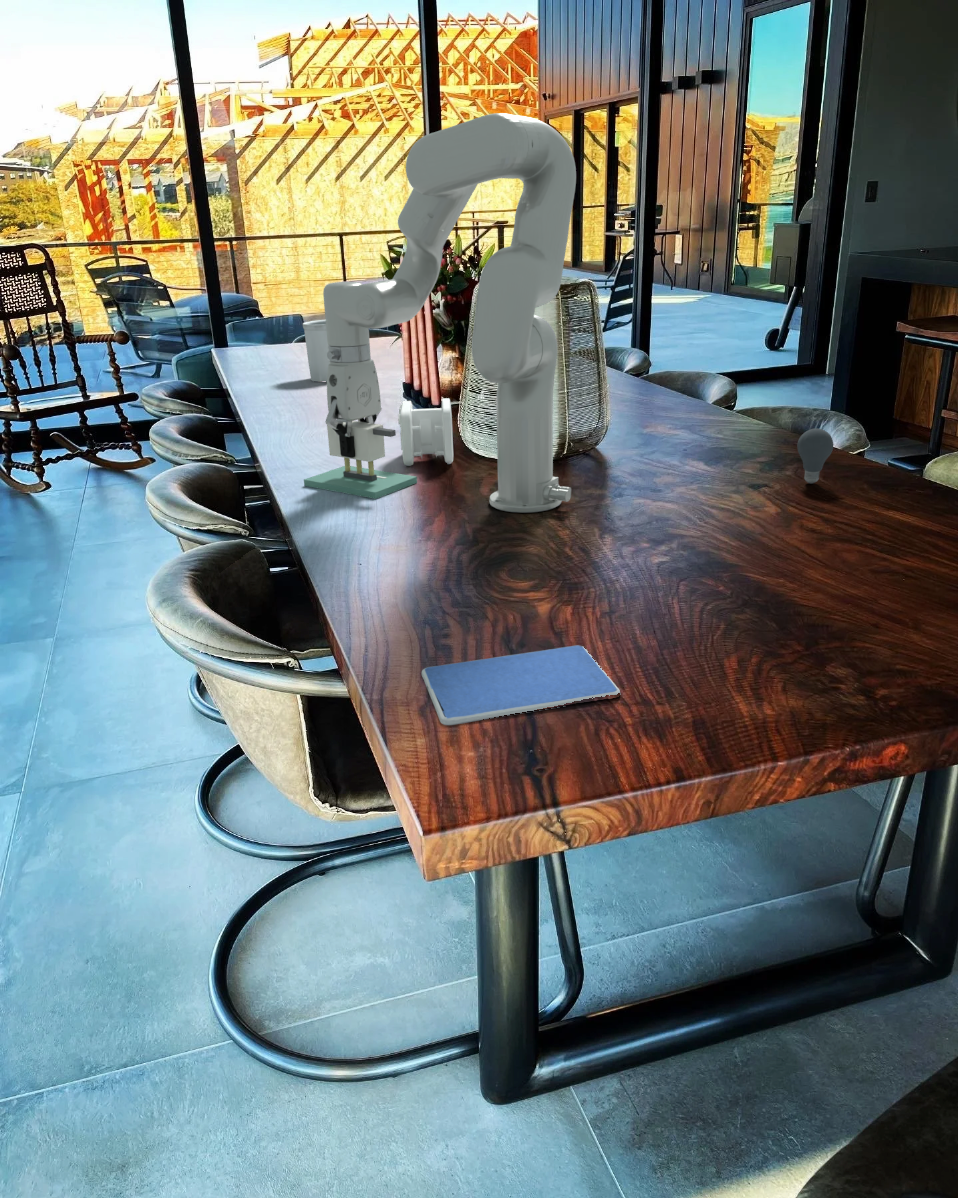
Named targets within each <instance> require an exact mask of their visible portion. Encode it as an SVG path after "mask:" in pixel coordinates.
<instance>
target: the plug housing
mask: <svg viewBox="0 0 958 1198" xmlns="http://www.w3.org/2000/svg"><path fill="white" fill-rule="evenodd" d="M345 425H346V422H343V426H344V427H345ZM326 429H327V438H328V439H327V441H328V449H329V450H328V451H329V452H328V453H329V456H332V457H338V458H343V459H344V458H349V459H351V460H355V461H356V460H361V462H362V461H363V462H367V463H368V462H371V461H373V462H374V461H376V460H380V459H383V458H385V457H386V450H385V449H386V448H385V437H390V438H392V437H395V436H396V435H397V434H396V433H397V432H396V429H392V428H386V427H385V428H384V424H382V423H381V424H379V423H374V424H373V423H366V422H358V420H354V421H352V432H351V436H354V446H355V457H354V458H350V457H344V456H341V452H340V441H339V436H338V435H337V434H336V432H335V431H334V430H333V428H331V427H330V426H328V425H327V424H326Z"/></svg>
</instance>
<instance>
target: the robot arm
mask: <svg viewBox="0 0 958 1198" xmlns="http://www.w3.org/2000/svg"><path fill="white" fill-rule="evenodd" d="M576 170H577V168H576V162H575V157H574V154H573V152H572V150H571V147H570V145H569V144H568V142H567V141H566V140H565V138H564V137H563V136H562V135H561V133H559V132H558V131H557V130H556V129H555V128H553V127H552V126H550V125H549V124H547V123H545V122H544V121H542V120H539V119H537V118H533V117H529V116H524V115H516V114H510V113H504V112H503V113H501V112H500V113H498V112H496V113H495V112H494V113H488V114H486V115H485V114H484V115H482V116H479V117H476V118H473V119H471V120H467V121H465V122H462V123H461V122H460V123H459V124H454V125H453V126H450V127H446V128H442V129H440V130H438V131H435V132H431V133H429V134H426V135H423V136H422V137H421V138H420V139H417V141H416V142H415V143H414V144H412V146H411V148H410V150H409V152H408V154H407V157H406V162H405V174H406V178H407V181H408V182H409V185H410V186H411V188H412V190H411V193H410V194H409V196H408V198H407V200H406V201H405V204H404V206H403V208H402V210H401V212H400V213H399V215H398V219H397V225H398V228H399V230H400V232H401V233H402V235H403V236H405V238H406V250H405V254H404V256H403V259H402V261H401V263H400V264H399V267H398V269H397V270H396V272H395V274H394V276H393V277H392V278H391V279H386V280H380V281H375V282H369V283H364V284H363V283H361V282H357V281H337V282H330V283H328V284H326V285H325V286H324V288H323V294H322V295H323V305H324V306H323V308H324V316H325V317H324V320H326V331H327V342H328V353H327V358H328V359H329V364H328V371H327V382H326V399H327V401H326V403H327V409H328V412H327V416H326V418H325V422H324V423H325V424H326V426H327V425H328V426H330V427H331V428H333V430H334V431H335V432H336V434H337V435H338V436H339V441H340V452H341V456H344V457H350V458H354V457H355V446H354V436H351V432H352V421H358V422H366V423H373V424H376V421H377V418H378V416H379V414H380V413H381V412H382V409H383V408H382V403H381V401H382V399H381V390H380V383H379V378H378V374H377V373H378V372H377V369H376V365H375V361H374V359H372V357H371V346H370V344H371V343H370V342H371V341H370V331H369V329H373V330H374V329H376V330H377V329H381V328H382V329H383V328H387V327H391V326H394V325H398V324H403V323H407V322H409V321H411V320H412V319H413V318H415V316H417V314H419V312H420V311H421V310H422V308H423V306H424V305H425V303H426V301H427V300H428V299H429V296H430V294H431V292H432V291H433V290H434V287H435V284H436V283H437V281H438V278H439V275H440V273H441V272H440V271H441V265H442V261H443V260H442V259H443V250H444V249H443V248H444V246H445V244H446V242H447V240H448V238H449V236H450V234H451V233H452V231H453V229H454V227H455V226H456V224H457V222H458V220H459V218H460V216H461V215H462V212H463V211H464V209H465V208H466V206H467V204H468V202H469V200H470V198H471V197H472V195H473V193H474V192H475V190H476V188H477V186H478V184H482V183H486V182H489V181H492V180H493V181H494V180H498V179H512V180H513V179H518V180H520V181H521V182H522V184H523V187H522V192H521V194H520V197H519V200H518V203H517V207H516V209H515V210H516V211H515V214H514V225H513V233H512V238H511V244H510V246H506V247H503V248H501V249H499V250H496V251H495V252H494V253H493V254H492V255H491V256H490V257H489V258H488V259H487V261H486V263H485V265H484V267H483V269H482V271H481V274H480V278H479V282H478V288H477V296H476V304H475V311H474V312H475V313H474V314H475V315H474V321H473V329H472V330H473V331H472V338H471V356H472V362H473V364H474V366H475V369H476V370H477V372H478V373H479V375H481V377H482V378H484V379H485V380H486V381H488V382H491V383H494V384H497V389H496V401H495V402H496V408H495V409H496V442H497V443H496V448H497V449H496V450H497V451H496V453H497V490H496V491H494V492H492V493H491V494H490V496H489V504H490V506H491V507H493V508H495V509H497V510H499V511H504V512H510V513H523V514H527V513H538V512H539V513H540V512H544V511H549V510H553V509H555V508H556V507H559V506H560V505H561V504H562V502H569V501H570V500H571V498H572V487H571V486H570V487H569V486H563V485H562V486H560V484H559V477H558V476H554V475H553V474H554V473H553V472H554V471H553V470H554V463H553V462H554V461H553V460H554V459H553V458H554V455H553V454H554V453H553V451H554V447H553V446H554V437H553V436H554V435H553V434H554V431H553V429H554V428H553V427H554V425H553V423H554V422H553V421H554V385H555V376H556V368H557V367H556V366H557V359H558V341H557V336H556V333H555V330H554V329H553V327H552V326H551V324H550V323H549V322H548V321H547V320H546V319H544V318H543V317H541V316H539V315H536V314H535V310H536V308H539V307H542V306H544V305H547V304H548V303H550V302H551V301H552V300H554V299H555V297H556V296H557V295H558V293H559V290H560V288H561V283H562V278H563V270H564V263H565V257H566V251H567V245H568V238H569V232H570V231H569V230H570V222H571V215H572V210H573V206H574V200H575V193H576V184H577V171H576ZM343 422H346V425H345V427H344V426H343Z"/></svg>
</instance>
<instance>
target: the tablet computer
mask: <svg viewBox="0 0 958 1198" xmlns="http://www.w3.org/2000/svg"><path fill="white" fill-rule="evenodd" d="M584 647H585V646H582V645H577V644H576V645H571V646H570V645H569V646H563V647H557V648H551V649H545V650H536V651H530V652H524V653H523V652H522V653H516V654H509V655H503V656H496V657H490V658H481V659H476V660H475V659H474V660H470V661H469V660H468V661H462V662H461V661H460V662H455V663H447V664H442V665H441V664H440V665H434V666H428V667H425V668H423V669H422V670H421V676H422V679H423V680H424V684H425V687H426V689H427V691H428V694H429V696H430V699H431V702H432V704H433V706H434V710H435V712H436V715H437V716H438V720H439V722H440V724H442V725H444V726H455V725H460V724H462V725H463V724H466V723H471V722H479V721H484V720H489V718H490V719H494V717H496V718H499V716H502V717H505V716H504V715H507V716H511V715H510V714H514V715H516V714H515V713H520V714H523V713H522V712H526V713H528V712H527V711H533V712H535V711H534V710H537V709H543V708H547V707H554V706H558V705H564V704H566V703H572V702H574V701H581V700H583V699H589V698H592V697H593V698H595V697H601V696H602V697H605V696H606V695H609V696H610V695H617V694H618V693H620V694H621V690H620V688H619V687H618V686H617V684H616V683H615V682H613V680H612V679H611V678H610V676H609V675H608V674H607V673H606V671H604V669H603V668H602V667H601V666H600V665H598V664H599V663H598V662H597V661H596V659H595V658H594V657H593V656H592V655H591V653H590V652H589V651H588V649H587V648H586V647H585V648H586V649H585V648H584ZM588 652H589V653H590V654H589V653H588ZM592 657H593V658H594V659H595V660H594V659H593V658H592ZM595 661H596V662H595ZM600 667H601V668H600ZM602 669H603V670H602ZM607 675H608V676H607ZM593 698H592V699H593ZM483 719H484V720H483Z"/></svg>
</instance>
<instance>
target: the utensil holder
mask: <svg viewBox="0 0 958 1198" xmlns="http://www.w3.org/2000/svg"><path fill="white" fill-rule="evenodd" d="M302 328H303V330H304V331H303V332H304V338H305V339H304V340H305V346H306V347H305V348H306V354H307V360H308V361H307V363H308V368H309V373H310V380H311V381H312V380H313V381H312V382H314V381H327V371H328V364H329V359H328V358H327V353H328V342H327V331H326V320H325V319H317V320H310V321H305V322H303V323H302Z"/></svg>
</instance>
